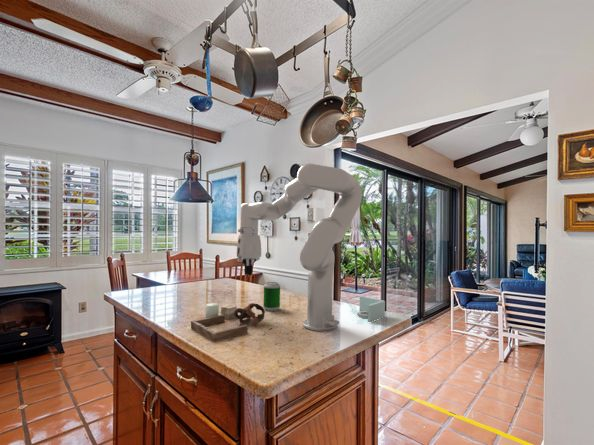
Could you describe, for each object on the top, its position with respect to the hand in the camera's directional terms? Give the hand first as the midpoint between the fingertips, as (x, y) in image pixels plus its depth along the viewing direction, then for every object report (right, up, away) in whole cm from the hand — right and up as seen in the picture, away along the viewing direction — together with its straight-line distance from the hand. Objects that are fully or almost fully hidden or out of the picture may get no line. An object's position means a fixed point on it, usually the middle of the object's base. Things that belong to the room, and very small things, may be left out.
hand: (248, 274), depth 131 cm
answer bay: (-8, -17, -20) cm, 27 cm away
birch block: (-8, -17, -4) cm, 19 cm away
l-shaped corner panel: (+50, -19, 0) cm, 53 cm away
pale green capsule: (-13, -17, -8) cm, 23 cm away
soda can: (+9, -18, +9) cm, 22 cm away
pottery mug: (+2, -17, -11) cm, 20 cm away
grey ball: (0, -17, 0) cm, 17 cm away
